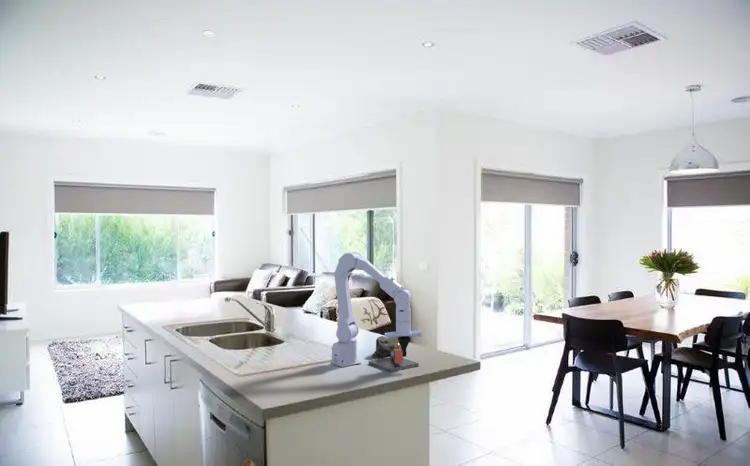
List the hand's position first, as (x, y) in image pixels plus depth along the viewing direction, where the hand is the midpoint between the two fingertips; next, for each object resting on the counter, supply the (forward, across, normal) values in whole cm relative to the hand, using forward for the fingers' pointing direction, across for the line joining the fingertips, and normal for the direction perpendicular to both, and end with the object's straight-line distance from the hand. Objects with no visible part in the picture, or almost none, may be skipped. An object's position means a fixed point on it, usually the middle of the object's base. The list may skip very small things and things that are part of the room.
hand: (403, 356), depth 200 cm
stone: (+5, 0, -23) cm, 23 cm away
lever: (+3, +2, -4) cm, 6 cm away
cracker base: (+4, +3, -5) cm, 7 cm away
